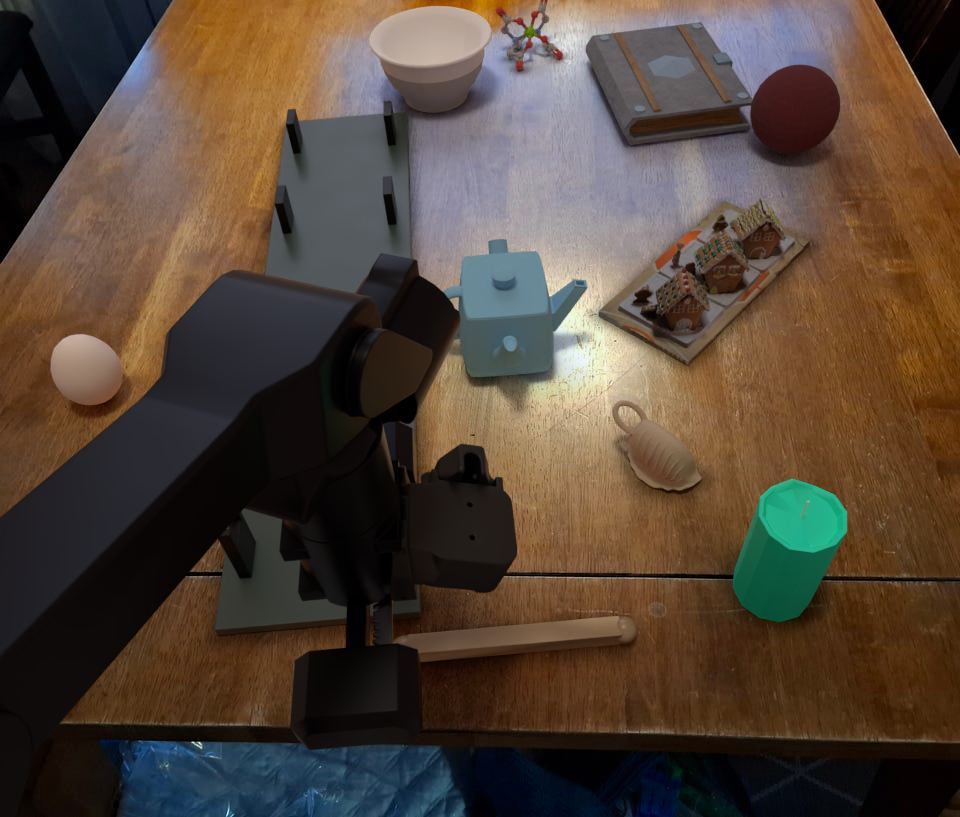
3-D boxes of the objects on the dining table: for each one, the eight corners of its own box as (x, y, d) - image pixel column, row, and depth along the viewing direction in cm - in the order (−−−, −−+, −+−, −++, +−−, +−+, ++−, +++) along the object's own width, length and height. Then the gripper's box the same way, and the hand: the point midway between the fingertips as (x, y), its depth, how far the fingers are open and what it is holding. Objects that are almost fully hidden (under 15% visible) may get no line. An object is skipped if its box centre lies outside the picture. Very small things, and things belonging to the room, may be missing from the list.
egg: (103, 427, 81) (70, 373, 75) (57, 407, 83) (20, 353, 77) (146, 383, 84) (117, 329, 78) (100, 365, 86) (68, 310, 80)
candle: (827, 598, 66) (874, 513, 57) (768, 636, 64) (807, 555, 55) (773, 541, 69) (809, 452, 60) (715, 575, 68) (743, 490, 58)
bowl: (354, 101, 116) (343, 40, 110) (434, 54, 123) (429, -6, 117) (437, 141, 109) (431, 79, 102) (518, 89, 116) (517, 27, 110)
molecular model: (493, 51, 123) (491, -1, 117) (542, 37, 125) (542, -15, 119) (515, 73, 119) (514, 20, 113) (566, 58, 121) (567, 5, 115)
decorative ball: (839, 137, 105) (863, 60, 97) (810, 180, 100) (833, 102, 92) (761, 116, 109) (778, 40, 101) (730, 156, 104) (745, 79, 96)
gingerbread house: (598, 317, 87) (600, 268, 82) (722, 207, 97) (732, 157, 92) (687, 366, 82) (696, 317, 77) (809, 244, 92) (824, 194, 87)
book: (585, 65, 119) (586, 30, 115) (699, 50, 120) (705, 15, 116) (622, 148, 106) (625, 112, 102) (751, 131, 107) (759, 95, 103)
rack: (421, 617, 67) (410, 570, 61) (217, 635, 67) (187, 590, 61) (407, 118, 113) (400, 64, 107) (287, 128, 113) (274, 75, 107)
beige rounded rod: (638, 646, 64) (640, 634, 63) (392, 668, 64) (389, 657, 63) (633, 622, 65) (635, 610, 64) (392, 643, 65) (389, 632, 64)
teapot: (440, 293, 90) (432, 216, 83) (572, 283, 90) (575, 205, 83) (446, 424, 79) (437, 349, 71) (597, 413, 79) (603, 336, 71)
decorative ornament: (670, 506, 72) (678, 469, 68) (602, 446, 76) (605, 408, 72) (703, 480, 74) (713, 443, 69) (634, 423, 78) (640, 384, 74)
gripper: (522, 661, 35) (526, 777, 47) (488, 340, 47) (498, 497, 59) (254, 685, 35) (326, 795, 47) (288, 357, 47) (338, 511, 59)
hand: (382, 633), depth 53 cm, fingers open, 9 cm apart
